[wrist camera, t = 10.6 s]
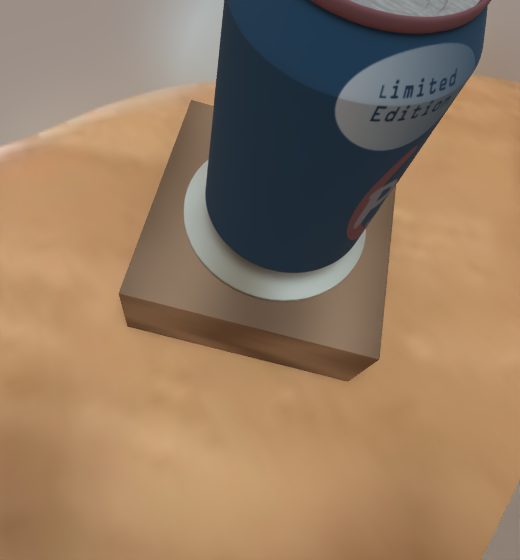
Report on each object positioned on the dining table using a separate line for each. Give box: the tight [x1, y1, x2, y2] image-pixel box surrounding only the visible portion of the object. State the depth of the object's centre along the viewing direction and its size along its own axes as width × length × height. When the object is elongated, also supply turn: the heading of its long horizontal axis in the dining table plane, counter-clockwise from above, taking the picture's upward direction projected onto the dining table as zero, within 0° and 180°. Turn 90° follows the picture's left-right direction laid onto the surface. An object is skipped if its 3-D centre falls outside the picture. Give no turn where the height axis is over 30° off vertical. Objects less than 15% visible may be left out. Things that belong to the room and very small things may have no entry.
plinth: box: [119, 100, 396, 381], centre depth 24 cm, size 11×11×4 cm
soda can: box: [205, 0, 491, 273], centre depth 16 cm, size 7×7×12 cm
